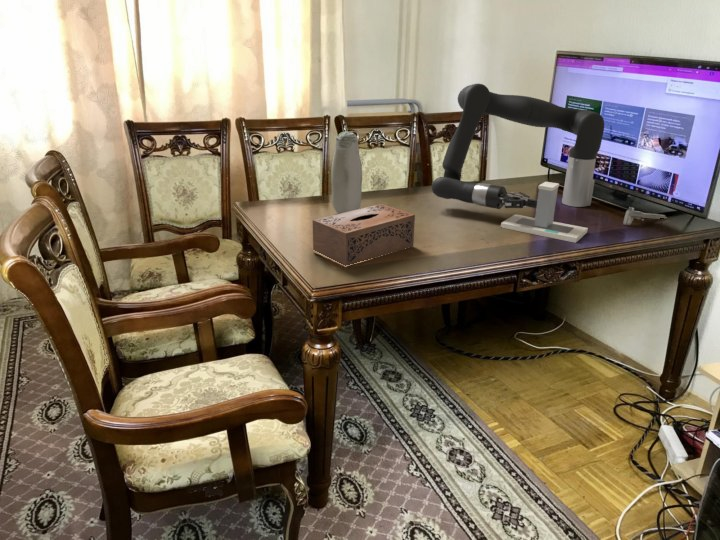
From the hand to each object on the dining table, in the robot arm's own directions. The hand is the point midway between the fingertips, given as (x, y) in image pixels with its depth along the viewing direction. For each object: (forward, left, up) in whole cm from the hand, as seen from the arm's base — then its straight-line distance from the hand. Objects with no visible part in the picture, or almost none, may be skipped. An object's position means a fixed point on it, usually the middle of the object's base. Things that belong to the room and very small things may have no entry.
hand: (539, 204), depth 185 cm
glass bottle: (+60, -18, -8) cm, 63 cm away
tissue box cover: (+57, +16, -9) cm, 60 cm away
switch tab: (-2, +1, -6) cm, 7 cm away
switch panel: (-2, +1, -8) cm, 8 cm away
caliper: (-40, -6, -9) cm, 41 cm away
